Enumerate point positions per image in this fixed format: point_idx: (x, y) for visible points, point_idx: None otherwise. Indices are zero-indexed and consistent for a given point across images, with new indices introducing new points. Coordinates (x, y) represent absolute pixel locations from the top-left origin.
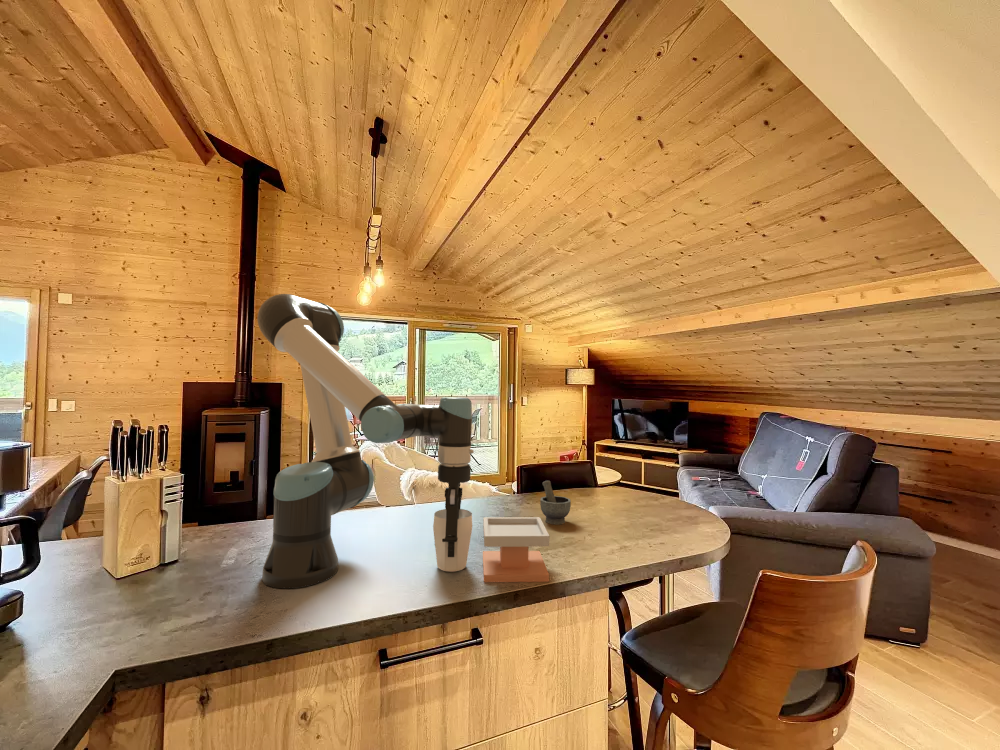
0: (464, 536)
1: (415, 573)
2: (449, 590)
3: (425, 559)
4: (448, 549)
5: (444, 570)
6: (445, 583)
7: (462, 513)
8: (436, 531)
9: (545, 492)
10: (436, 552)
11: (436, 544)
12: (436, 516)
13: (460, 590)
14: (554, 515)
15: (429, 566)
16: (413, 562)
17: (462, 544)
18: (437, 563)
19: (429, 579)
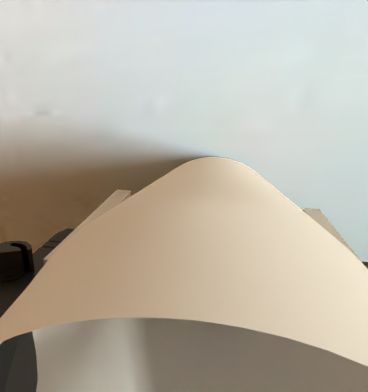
0: (96, 380)
1: (160, 53)
2: (15, 196)
3: (333, 93)
4: (39, 253)
5: (116, 190)
6: (66, 184)
7: None
8: (91, 222)
9: None
10: (180, 169)
11: (150, 184)
12: (5, 338)
13: (20, 229)
14: None
15: (236, 118)
16: (304, 26)
17: (114, 329)
18: (192, 161)
19: (98, 123)
